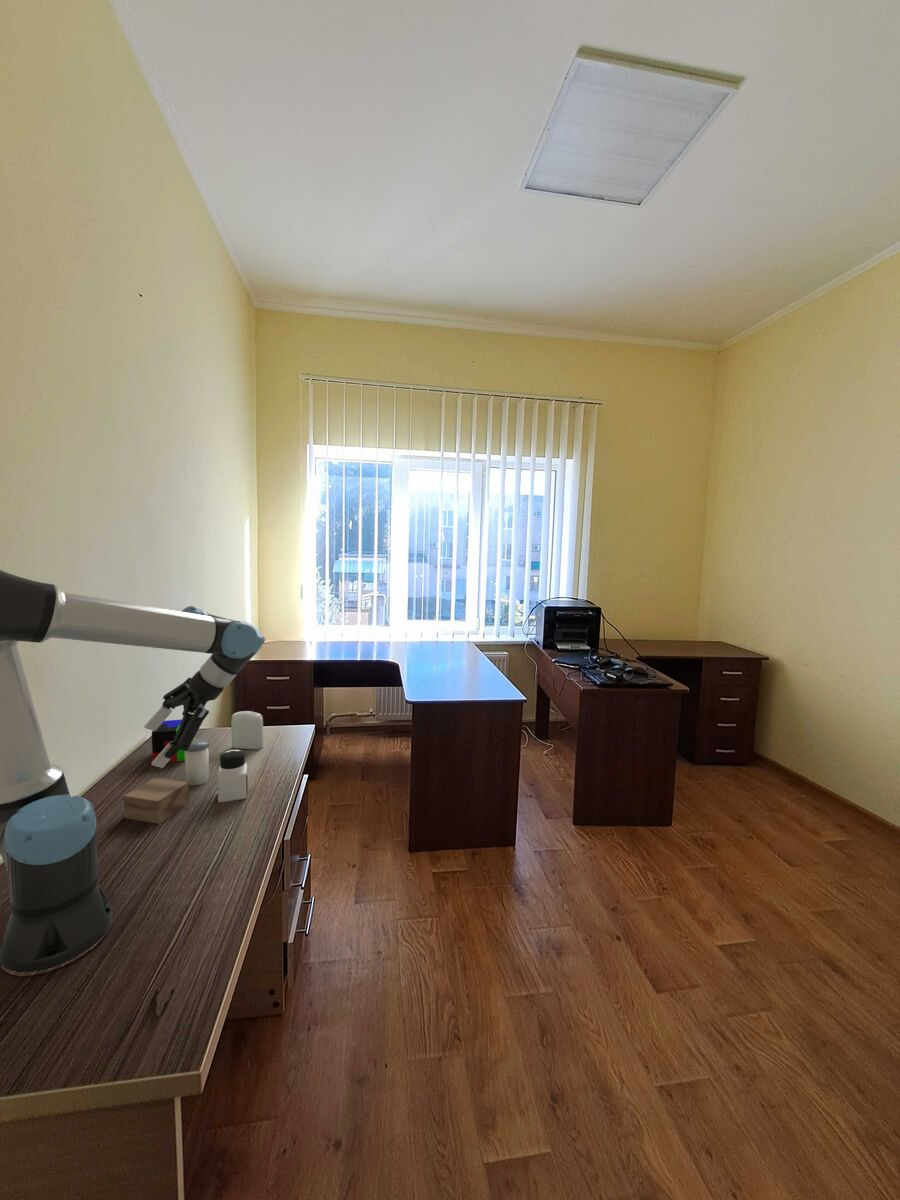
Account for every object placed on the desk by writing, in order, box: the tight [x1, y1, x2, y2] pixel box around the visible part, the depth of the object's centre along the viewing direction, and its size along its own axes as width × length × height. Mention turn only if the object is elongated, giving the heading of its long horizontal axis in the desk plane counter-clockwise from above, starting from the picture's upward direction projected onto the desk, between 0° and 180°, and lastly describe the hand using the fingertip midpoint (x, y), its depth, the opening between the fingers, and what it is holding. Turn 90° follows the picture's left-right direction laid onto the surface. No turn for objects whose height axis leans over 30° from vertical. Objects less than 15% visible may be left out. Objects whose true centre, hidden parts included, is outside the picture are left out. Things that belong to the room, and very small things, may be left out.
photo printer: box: [230, 710, 264, 750], centre depth 163 cm, size 10×4×12 cm, turn 85°
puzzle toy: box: [151, 719, 196, 763], centre depth 156 cm, size 10×10×10 cm
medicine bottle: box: [216, 749, 249, 804], centre depth 133 cm, size 7×7×12 cm
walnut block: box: [123, 776, 190, 825], centre depth 125 cm, size 10×10×6 cm
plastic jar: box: [184, 738, 210, 786], centre depth 140 cm, size 6×6×11 cm
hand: (153, 746), depth 117 cm, fingers open, 13 cm apart
